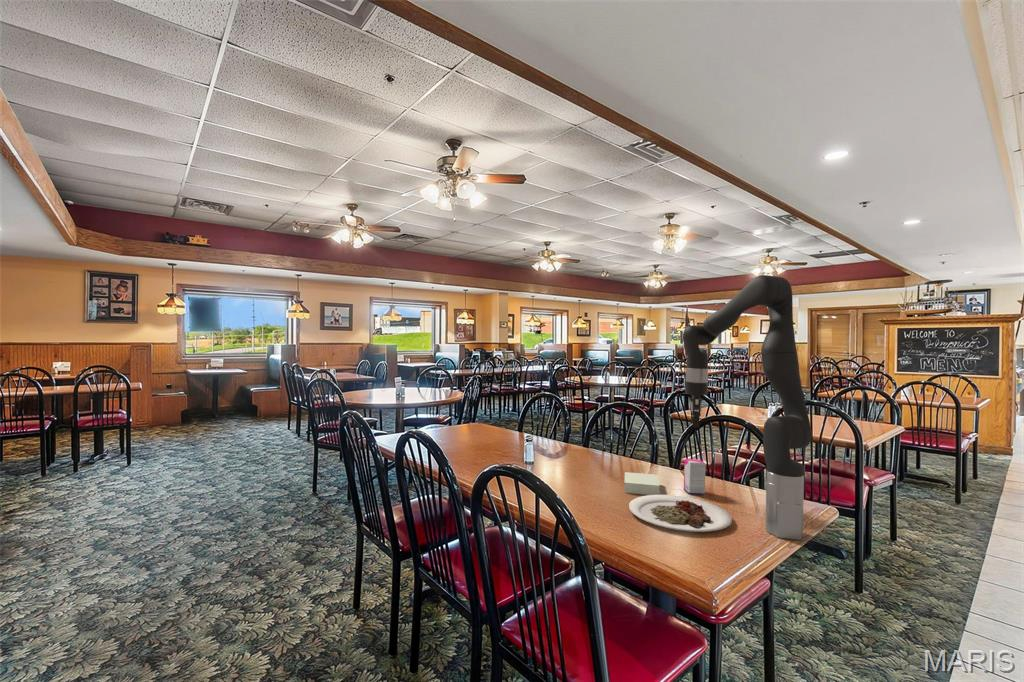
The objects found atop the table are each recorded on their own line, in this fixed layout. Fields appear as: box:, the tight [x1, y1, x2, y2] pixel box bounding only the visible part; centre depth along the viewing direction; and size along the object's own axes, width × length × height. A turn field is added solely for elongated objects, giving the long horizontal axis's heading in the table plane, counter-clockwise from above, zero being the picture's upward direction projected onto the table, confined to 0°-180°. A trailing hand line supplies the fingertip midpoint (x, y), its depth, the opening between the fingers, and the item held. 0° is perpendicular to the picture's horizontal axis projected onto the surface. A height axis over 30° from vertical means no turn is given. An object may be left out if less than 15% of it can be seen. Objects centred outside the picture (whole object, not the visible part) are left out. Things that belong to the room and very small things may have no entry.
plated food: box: [628, 494, 733, 533], centre depth 142 cm, size 30×30×3 cm
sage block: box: [623, 471, 660, 496], centre depth 169 cm, size 14×12×4 cm
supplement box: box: [683, 458, 707, 496], centre depth 166 cm, size 6×6×12 cm
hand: (695, 425), depth 166 cm, fingers open, 8 cm apart
